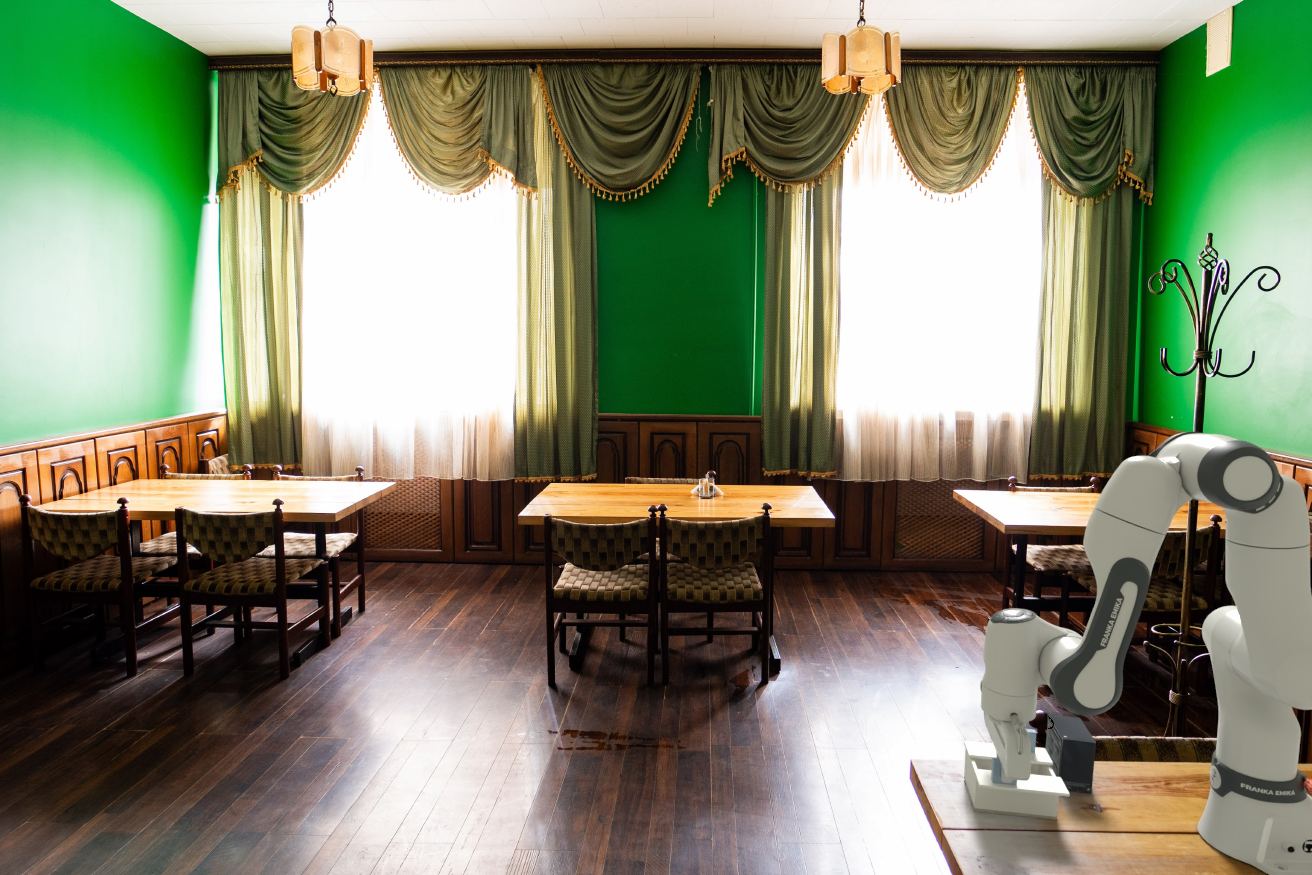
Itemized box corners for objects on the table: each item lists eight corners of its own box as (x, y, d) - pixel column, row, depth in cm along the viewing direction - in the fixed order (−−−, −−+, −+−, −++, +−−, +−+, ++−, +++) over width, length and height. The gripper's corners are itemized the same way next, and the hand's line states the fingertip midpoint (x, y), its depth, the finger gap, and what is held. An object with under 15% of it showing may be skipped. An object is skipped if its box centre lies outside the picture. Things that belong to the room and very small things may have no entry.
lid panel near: (1060, 779, 145) (1062, 755, 144) (1069, 796, 140) (1071, 771, 139) (973, 771, 148) (975, 747, 147) (979, 787, 143) (980, 763, 142)
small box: (1094, 794, 153) (1098, 741, 152) (1057, 790, 155) (1060, 738, 153) (1077, 765, 164) (1081, 716, 162) (1042, 762, 165) (1046, 713, 164)
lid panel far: (1044, 750, 155) (1046, 728, 155) (1052, 765, 150) (1054, 742, 149) (964, 742, 158) (965, 721, 157) (969, 757, 153) (970, 734, 152)
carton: (1041, 786, 156) (1043, 752, 155) (1057, 819, 145) (1059, 783, 144) (964, 778, 159) (965, 744, 158) (974, 810, 148) (976, 774, 147)
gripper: (1043, 731, 131) (1038, 812, 132) (1014, 679, 150) (1010, 749, 152) (1001, 728, 132) (997, 807, 134) (978, 676, 152) (975, 746, 153)
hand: (1004, 776), depth 143 cm, fingers closed on lid panel near
